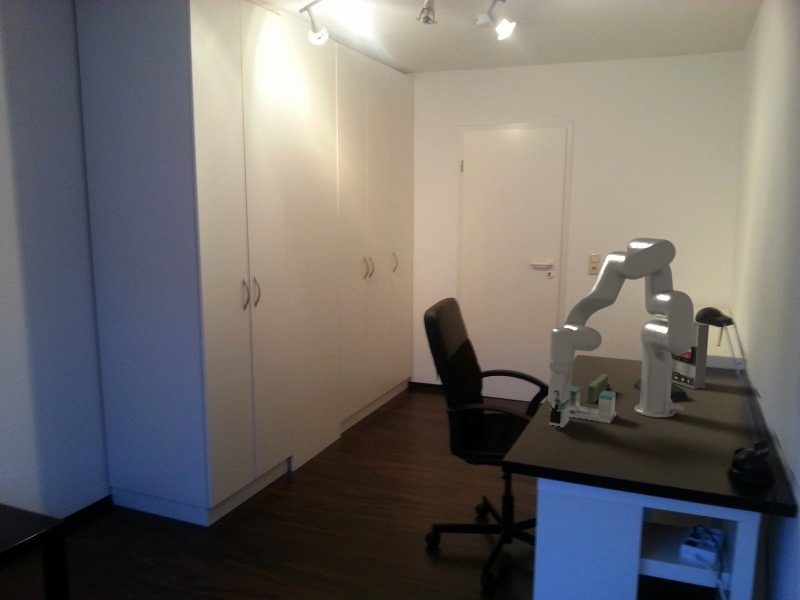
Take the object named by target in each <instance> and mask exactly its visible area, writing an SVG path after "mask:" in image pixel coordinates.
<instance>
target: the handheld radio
mask: <svg viewBox="0 0 800 600" xmlns="http://www.w3.org/2000/svg"><path fill="white" fill-rule="evenodd" d="M608 379H609V375H608V373H603V374H602V375H600V376H599V377H597V378H596V379H594V380H593V381H592V382H591V383H590V384H588V385H587V388H586V389H587V390H586V398H585V399H586V401H585V402H586V404H587V403H588V404H594V403H595V402H596V401H597V400H599V399H598V398H599V395H600V393H601V392H602V391H608V388H609V387H610V384H609V383H608V381H609V380H608Z"/></svg>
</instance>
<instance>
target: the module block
mask: <svg viewBox="0 0 800 600" xmlns="http://www.w3.org/2000/svg"><path fill="white" fill-rule="evenodd" d="M559 402H560V401H559ZM550 405H551V403H550ZM550 405H549V406H550ZM557 406H558V404H557ZM569 407H570V401H566V402H565V403H563V404H561V408H560V411H561V422H560V424H556V423H551V422H550V421H549V426H551V425H554V426H553V427H557V426H560V427H559V428H563V427H564V426H565V425H566V424H567V423H568V422H570V417H569ZM550 408H551V406H550ZM568 424H569V423H568ZM568 424H567V425H568ZM567 425H566V426H567ZM566 426H565V427H566ZM565 427H564V428H565Z"/></svg>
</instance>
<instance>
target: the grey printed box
mask: <svg viewBox="0 0 800 600" xmlns="http://www.w3.org/2000/svg"><path fill="white" fill-rule="evenodd" d="M709 328H710V324H707V323H704V322H702V323H701V322H697V321H694V336H693V343H692V346H691V348H690V349H689V350H688V351H687V352H686V353H683V354H675V353H671V355H672V360H673V368H672V381H671V383H673V384H676V385H681V386H684V387H687V388H690V389H692V390H696V389H704V388H706V374H707V373H706V371H707V359H708V348H709V347H708V344H709V335H710V334H709V332H710V330H709Z"/></svg>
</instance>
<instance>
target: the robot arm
mask: <svg viewBox="0 0 800 600" xmlns="http://www.w3.org/2000/svg"><path fill="white" fill-rule="evenodd" d="M676 251H677V250H676V246H675V245H674V244H673V242H671V241H670V240H667V239H664V238H653V237H652V238H649V237H638V238H633V239H631V240H630V241H628V243H627V247H626V251H623V250H621V251H620V250H619V251H617V250H614V251H611V252H609V253H608V254H607V255H606V256H605V257H604V260H603V261H602V263H601V266H600V268H599V270H598V273H597V275H596V277H595V279H594V281H593V283H592V285H591V288H590V290H589V292H588V293H587V294H585V295H584V296H583V297H582V298H581V299H580V300H579V301H578V302H577V303H576V304H575V305H574V306H573V307H572V308H571V309H570V311H569V313H568V315H567V316H566V319H565V320H564V323H563V326H557V327H553V328H552V329H551V331H550V344H549V345H550V347H549V349H550V350H549V371H550V374H549V375H550V376H549V382H548V384H549V385H548V392H547V393H548V395H547V401H548V402H549V403H550V404H551V405H549V406H551V408H550V409H549V423H550V422H551V423H556V424H560V422H561V411H560V408H561V404H563V403H565V402H566V401H569V398H570V394H571V386H572V374H573V373H575V357H576V356H575V355H576V353H575V352H576V351H581V352H593V351H595V350H597V349H598V348H600V347H601V344H602V341H603V338H602V335H601V333H600V331H598V330H597V329H596V328H594V327H591V326H590V327H589V326H587V325H586V323H587V322H588V321H589V319H590V318H591V316H592V315H594V314H595V313H596V312H598V311H600V310H602V309H606V308H608V307H610V306H613V305H614V304H615V302H616V301H617V298H618V296H619V295H620V292H621V289H622V288H623V286H624V283H625V282H626V280H632V281H635V280H640V279H642V278H644V300H645V302H644V306H645V310H646V312H647V314H649V315H651V316H652V317H658V318H662V319H666V320H662V319H651V320H649V321H646V323H644V324H643V326H642V328H641V330H640V342H641V348H642V361H641V362H642V363H641V376H640V380H641V392H639V393H640V395H639V404H636V405H635V406H634V411H635V412H636V413H637V414H640V415H642V416H646V417H651V418H670V417H673V416H674V415H675V412H681V413H684V411H685V406H684V405H682V404H680V403H679V404H676V403H674V402H673V401H672V399H670V396H671V383H672V382H671V381H672V368H673V360H672V355H671V353H675V354H683V353H686V352H687V351H688V350H689V349H690V348H691V346H692V343H693V336H694V322H695V321H694V319H695V317H694V314H695V313H694V311H695V310H694V308H695V307H694V303H693V301H692V298H691V297H690V296H689V295H688V294H687V293H686V292H683V291H682V290H681V291H680V290H674V285H673V282H674V281H673V272H672V268H671V265H670V264H671V263H672V262H673V261H674V259H675V258H676V253H677V252H676ZM559 401H560V402H559ZM557 404H558V406H557Z"/></svg>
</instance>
